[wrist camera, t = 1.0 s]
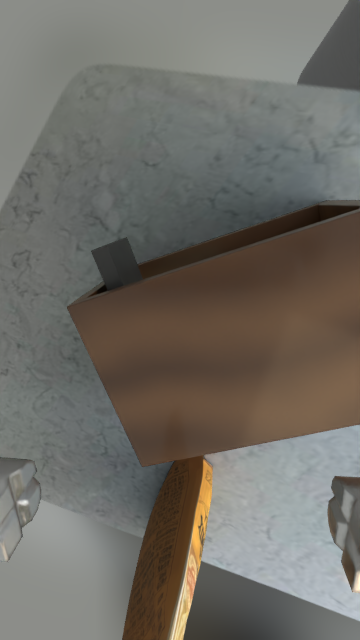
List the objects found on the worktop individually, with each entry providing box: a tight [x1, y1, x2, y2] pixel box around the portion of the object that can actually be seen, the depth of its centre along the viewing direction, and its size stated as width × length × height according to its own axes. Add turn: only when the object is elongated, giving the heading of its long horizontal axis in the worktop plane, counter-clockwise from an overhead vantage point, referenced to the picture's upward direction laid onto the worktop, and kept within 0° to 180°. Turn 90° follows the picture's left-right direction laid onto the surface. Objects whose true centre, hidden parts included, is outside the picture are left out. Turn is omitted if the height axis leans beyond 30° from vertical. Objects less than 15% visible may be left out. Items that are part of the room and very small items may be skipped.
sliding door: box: [91, 237, 143, 291], centre depth 24 cm, size 5×8×9 cm, turn 109°
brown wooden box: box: [67, 200, 360, 467], centre depth 25 cm, size 13×19×11 cm
